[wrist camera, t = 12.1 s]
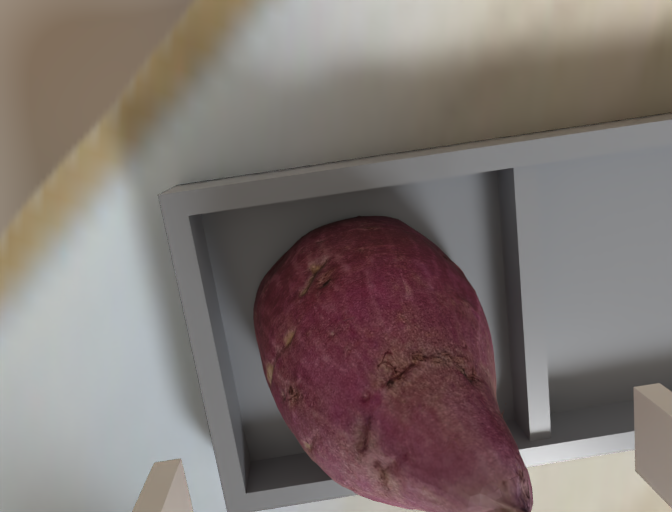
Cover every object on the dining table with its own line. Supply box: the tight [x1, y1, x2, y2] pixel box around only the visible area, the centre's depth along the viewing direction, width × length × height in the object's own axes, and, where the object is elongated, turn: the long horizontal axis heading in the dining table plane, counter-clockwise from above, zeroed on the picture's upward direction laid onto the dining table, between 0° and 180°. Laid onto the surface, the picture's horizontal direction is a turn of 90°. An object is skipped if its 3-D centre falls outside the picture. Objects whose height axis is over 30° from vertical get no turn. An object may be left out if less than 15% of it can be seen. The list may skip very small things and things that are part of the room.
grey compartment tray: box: [158, 113, 672, 512], centre depth 26 cm, size 15×30×4 cm, turn 98°
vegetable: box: [253, 216, 533, 512], centre depth 21 cm, size 10×10×15 cm
